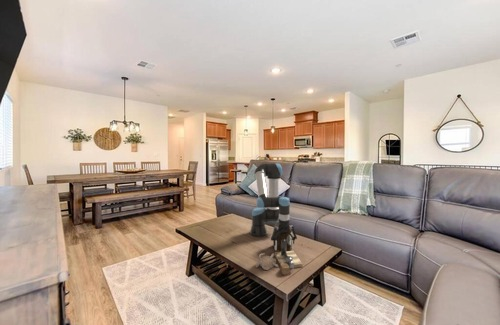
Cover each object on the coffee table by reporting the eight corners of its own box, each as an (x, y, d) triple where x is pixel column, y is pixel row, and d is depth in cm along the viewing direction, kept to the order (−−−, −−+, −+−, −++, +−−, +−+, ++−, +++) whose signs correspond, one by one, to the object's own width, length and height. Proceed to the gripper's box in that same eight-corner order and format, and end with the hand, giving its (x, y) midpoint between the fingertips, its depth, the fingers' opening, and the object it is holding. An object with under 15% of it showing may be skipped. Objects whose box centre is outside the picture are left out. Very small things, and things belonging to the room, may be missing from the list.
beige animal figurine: (272, 264, 153) (269, 249, 155) (282, 264, 146) (278, 249, 148) (256, 272, 142) (253, 256, 144) (266, 273, 136) (262, 257, 138)
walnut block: (280, 270, 140) (280, 263, 139) (287, 270, 140) (287, 263, 140) (282, 274, 135) (282, 267, 135) (289, 274, 136) (289, 267, 135)
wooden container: (292, 253, 162) (292, 224, 160) (272, 251, 165) (272, 223, 163) (292, 244, 176) (292, 218, 174) (274, 242, 179) (274, 216, 177)
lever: (295, 268, 138) (295, 251, 137) (288, 268, 137) (288, 252, 136) (285, 253, 157) (286, 238, 156) (280, 253, 156) (280, 238, 156)
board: (275, 254, 159) (275, 251, 159) (293, 253, 161) (293, 250, 161) (283, 270, 140) (283, 266, 140) (303, 268, 142) (303, 264, 142)
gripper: (268, 222, 147) (268, 252, 149) (302, 220, 151) (301, 250, 153) (266, 218, 155) (266, 247, 157) (298, 216, 158) (297, 245, 160)
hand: (283, 248), depth 155 cm, fingers open, 11 cm apart
